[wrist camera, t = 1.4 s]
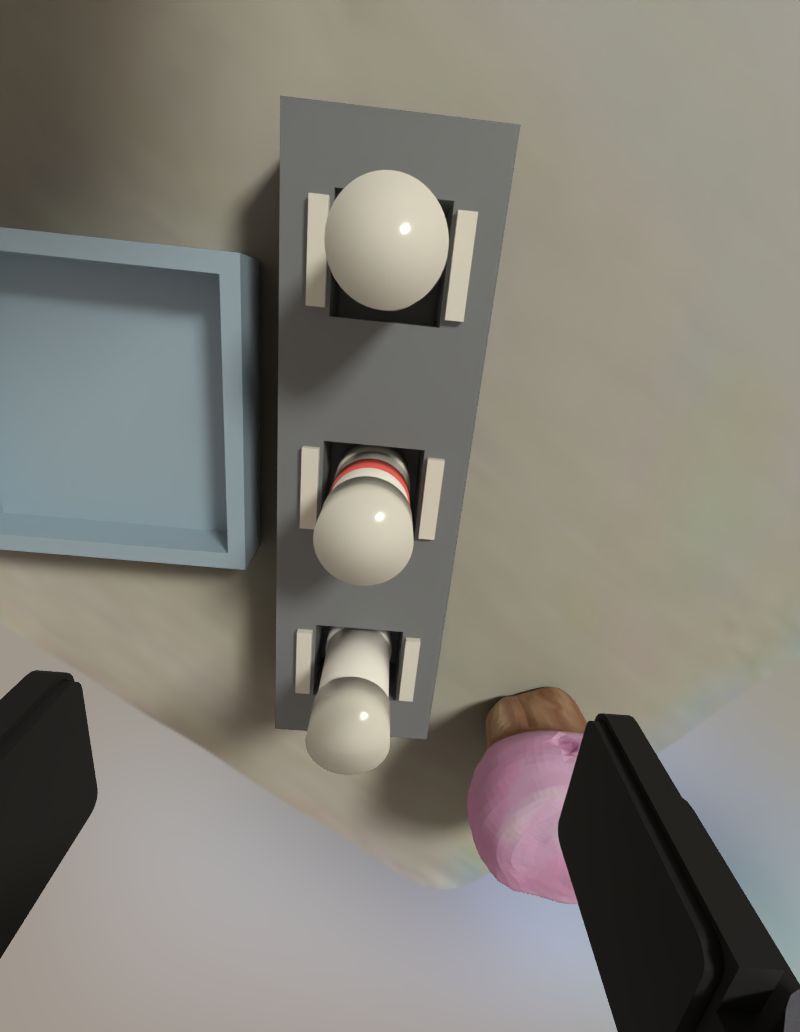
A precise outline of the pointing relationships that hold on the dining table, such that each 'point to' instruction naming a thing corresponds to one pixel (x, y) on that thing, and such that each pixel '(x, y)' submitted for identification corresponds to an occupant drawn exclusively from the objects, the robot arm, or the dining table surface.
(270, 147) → the dining table surface
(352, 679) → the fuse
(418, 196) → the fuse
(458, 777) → the dining table surface
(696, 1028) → the robot arm
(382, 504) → the cylinder
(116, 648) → the dining table surface
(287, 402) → the fuse holder
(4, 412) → the tray
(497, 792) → the cupcake
